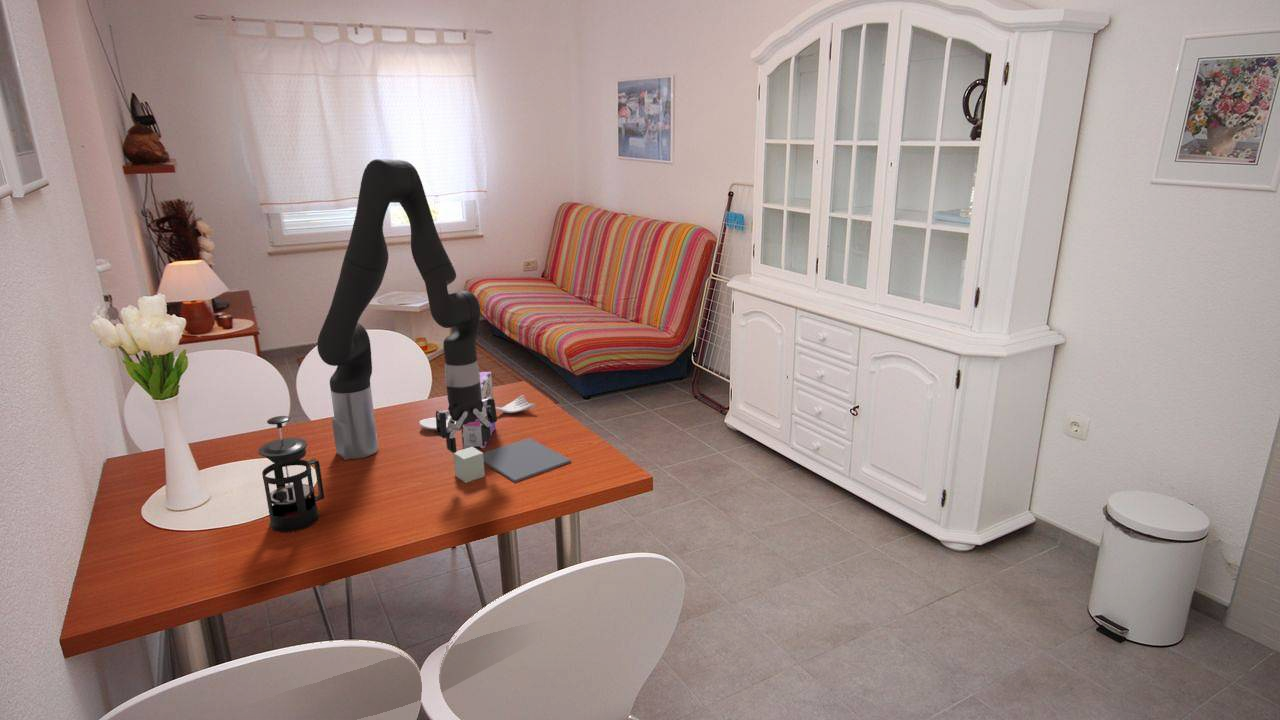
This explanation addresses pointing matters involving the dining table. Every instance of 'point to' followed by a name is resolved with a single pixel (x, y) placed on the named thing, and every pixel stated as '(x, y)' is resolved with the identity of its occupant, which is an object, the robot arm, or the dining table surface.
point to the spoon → (509, 408)
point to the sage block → (469, 464)
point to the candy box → (473, 429)
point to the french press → (291, 495)
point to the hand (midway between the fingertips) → (469, 446)
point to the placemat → (523, 459)
